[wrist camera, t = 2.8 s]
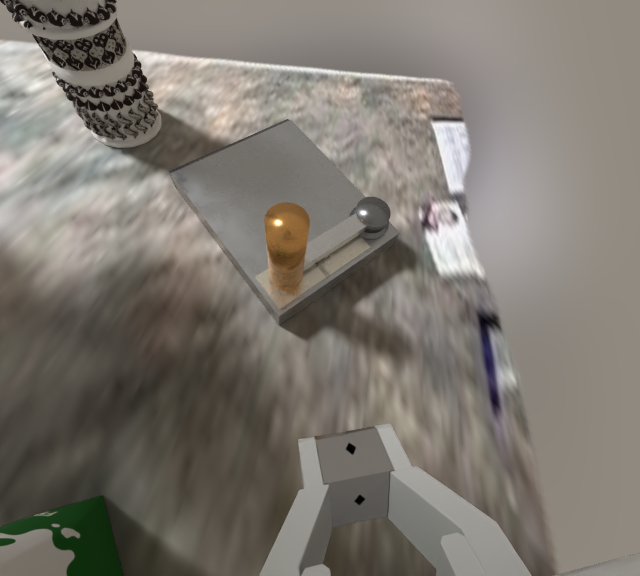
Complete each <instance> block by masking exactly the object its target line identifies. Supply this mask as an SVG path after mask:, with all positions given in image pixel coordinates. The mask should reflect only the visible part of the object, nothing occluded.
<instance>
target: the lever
mask: <svg viewBox="0 0 640 576" xmlns="http://www.w3.org/2000/svg"><path fill="white" fill-rule="evenodd" d="M389 218H390V209H389V207H388V205H387V204H386V203H385V202H384V201H383V200H381V199H379V198H376V197H366V198H363V199H361V200H360V201H359V202H358V204H357V206H356V209H355V212H354V215H352V216H351V217H349V218H347V219H346V220H344V221H342V222H341V223H339V224H338V225H336V226H334V227H333V228H331V229H330V230H328V231H326V232H325V233H323V234H321V235H320V236H318V237H317V238H315V239H313V240H312V241H310V242H309V243H307V240H308V233H309V226H310V219H309V215H308V214H307V212H306V211H305V210H304V209H303V208H302V207H301V206H299V205H297V204H294V203H289V202H283V203H278V204H276V205H274V206H272V207H271V208H270V209H269V210H268V211H267V213H266V215H265V218H264V223H265V234H266V245H267V255H268V266H269V275H270V278H271V280H272V282H273V283H274V284H275V285H277V286H279V287H282V288H290V287H293V286H295V285H297V284H298V283H299V282H300V281H301V279H302V276H303V271H304V270H306V269H307V268H309V267H310V266H312V265H314V264H315V263H317V262H318V261H320V260H321V259H323V258H324V257H326V256H327V255H329V254H330V253H332V252H334V251H335V250H337V249H338V248H340V247H341V246H343V245H344V244H346V243H347V242H349V241H350V240H352V239H353V238H355V237H357V236H358V235H360V234H361V233H363V232H366V233H378V232H380V231H382V230H383V229H384V227H385V226H386V224H387V222H388V220H389Z"/></svg>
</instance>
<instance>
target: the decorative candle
mask: <svg viewBox="0 0 640 576" xmlns="http://www.w3.org/2000/svg"><path fill="white" fill-rule="evenodd" d="M0 1H1V2H2V3H3V4H4V5H6V7H7V9H8V11H9V12H11V13H13V15H12V18H13V20H14V21H15V22H18V24H19V25H20V27H21V28H23V29H25V30H26V31H28V32H30V33H31V34H32V35H33V37H34V38H35V40H36V41H37V43H38V45H39V46H40V47H41V49H42V50H43V52H42V53H43V55H44V56H45V58H46V60H47V62H48V63H49V65H50V66H51V68H52V69H53V72H52V73H53V76H54V77H55V78H56V82H57V84H58V85H59V86H61V87H63V90H64V92H66V97H67V98H68V99H69V100H70V101H72V103H73V106H74V108H75V110H76V112H77V114H78V115H79V116H80V117H81V118H82V119H83V121H84V124H85V126H86V127H87V128H88V129H90V130H91V132H92V134H93V136H94V137H95V139H97V140H98V141H100V142H101V143H103V144H104V145H107V146H112V147H116V148H129V147H136V146H139V145H141V144H144V143H147V142H148V141H150V140H151V139H152V138H154V137H155V136H156V135H157V134H158V132H159V130H160V129H161V127H162V118H161V115H160V113H159V112H158V110H157V108H158V105H157V104H155V103H154V102H153V100H154V99H153V92H151V91H148V89H149V86H148V85H147V84H145V83H146V82H147V78H146V76H144V75H142V74H143V73H142V70H141V63H140V62H139V61H138V60H137V57H136V55H135V54H134V53H133V52H132V50H131V48H130V45H129V43H128V41H127V40H126V38H125V37H124V35H123V33H122V30H121V28H120V25H119V23H118V20H117V6H116V1H115V0H0ZM63 80H64V81H63ZM72 94H73V95H72Z"/></svg>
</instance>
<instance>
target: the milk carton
mask: <svg viewBox="0 0 640 576" xmlns="http://www.w3.org/2000/svg"><path fill="white" fill-rule="evenodd" d="M0 576H123V572H122V568H121V564H120V561H119V557H118V553H117V549H116V545H115V541H114V537H113V533H112V529H111V526H110V522H109V518H108V514H107V510H106V506H105V502H104V498H103V495H102V496H99V497H95V498H92V499H89V500H85V501H82V502H78V503H75V504H71V505H68V506H64V507H61V508H57V509H54V510H50V511H47V512H43V513H40V514H37V515H33V516H30V517H27V518H24V519H21V520H18V521H16V522H13V523H10V524H8V525H5V526H2V527H0Z"/></svg>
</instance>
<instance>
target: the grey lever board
mask: <svg viewBox="0 0 640 576" xmlns="http://www.w3.org/2000/svg"><path fill="white" fill-rule="evenodd" d="M169 174H170V176H171V178H172V180H173V183H174V185H175V187H176V188H177V190H178V191H179V193H180V194H181V196H182V197H183V198H184V200H185V201H186V202H187V204H188V205H189V206H190V208H191V209H192V210H193V212H194V213H195V214H196V216H197V217H198V218H199V220H200V221H201V222H202V224H203V225H204V226H205V227H206V229H207V230H208V231H209V233H210V234H211V235H212V237H213V238H214V239H215V241H216V242H217V243H218V245H219V246H220V247H221V249H222V250H223V251H224V253H225V254H226V255H227V257H228V258H229V259H230V261H231V262H232V263H233V265H234V266H235V267H236V269H237V270H238V271H239V273H240V274H241V275H242V277H243V278H244V279H245V281H246V282H247V283H248V285H249V286H250V287H251V289H252V290H253V291H254V293H255V294H256V295H257V297H258V298H259V299H260V301H261V302H262V303H263V305H264V306H265V307H266V309H267V310H268V311H269V313H270V314H271V315H272V317H273V318H274V319H275V321H276V322H277V323H278V325H281V324H282V323H284V322H285V321H286V320H288V319H289V318H291V317H292V316H293V315H295V314H296V313H298V312H299V311H301V310H302V309H303V308H305V307H306V306H308V305H309V304H311V303H312V302H313V301H315V300H316V299H318V298H319V297H321V296H322V295H323V294H325V293H326V292H328V291H329V290H331V289H332V288H333V287H335V286H336V285H338V284H339V283H341V282H342V281H343V280H345V279H346V278H348V277H349V276H351V275H352V274H353V273H355V272H356V271H358V270H359V269H361V268H362V267H363V266H365V265H366V264H368V263H369V262H371V261H372V260H373V259H375V258H376V257H378V256H379V255H381V254H382V253H383V252H385V251H386V250H388V249H389V248H391V246H392V245H393V243H394V242H395V240H396V239H397V237H398V235H399V234H400V232H399V231H398V230H397V229H396V228H395V227H394V226H393V225H392V224H391V223H390V222H389V220H388V222H387V224H386V226H385V227H384V229H383V230H382V231H380V232H378V233H366V232H363V233H361V234H360V235H358V236H357V237H355V238H353V239H352V240H350V241H349V242H347V243H346V244H344V245H343V246H341V247H340V248H338V249H337V250H335V251H334V252H332V253H330V254H329V255H327V256H326V257H324V258H323V259H321V260H320V261H318V262H317V263H315V264H314V265H312V266H310V267H309V268H307V269H306V270H304V271H303V276H302V279H301V281H300V282H299V283H298V284H297V285H295V286H293V287H290V288H282V287H279V286H277V285H275V284H274V283H273V282H272V280H271V278H270V275H269V266H268V255H267V245H266V234H265V223H264V218H265V215H266V213H267V211H268V210H269V209H270V208H271V207H272V206H274V205H276V204H278V203H283V202H289V203H294V204H297V205H299V206H301V207H302V208H303V209H304V210H305V211H306V212H307V214H308V215H309V219H310V226H309V233H308V240H307V243H309V242H310V241H312V240H313V239H315V238H317V237H318V236H320V235H321V234H323V233H325V232H326V231H328V230H330V229H331V228H333V227H334V226H336V225H338V224H339V223H341V222H342V221H344V220H346V219H347V218H349V217H351V216H352V215H354V212H355V209H356V206H357V204H358V202H359V201H360V200H361V199H363V198H366V197H365V196H364V195H363V194H362V193H361V192H360V191H359V190H358V189H357V188H356V187H355V186H354V185H353V184H352V183H351V182H350V181H349V180H348V179H347V178H346V177H345V175H344V174H343V173H342V172H341V171H340V170H339V169H338V168H337V167H336V166H335V165H334V164H333V163H332V162H331V161H330V160H329V159H328V158H327V157H326V156H325V155H324V154H323V153H322V152H321V151H320V150H319V149H318V148H317V147H316V145H315V144H314V143H313V142H312V141H311V140H310V139H309V138H308V137H307V136H306V135H305V134H304V133H303V132H302V131H301V130H300V129H299V128H298V127H297V126H296V125H295V124H294V123H293V122H292V121H291V120H288V119H287V120H284V121H282V122H280V123H278V124H275V125H273V126H271V127H269V128H266V129H264V130H262V131H260V132H257V133H255V134H253V135H250V136H248V137H246V138H244V139H241V140H239V141H237V142H235V143H232V144H230V145H228V146H226V147H223V148H221V149H219V150H217V151H214V152H212V153H210V154H208V155H205V156H203V157H201V158H199V159H196V160H194V161H192V162H189V163H187V164H185V165H183V166H180V167H178V168H176V169H174V170H171V171H169Z"/></svg>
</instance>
